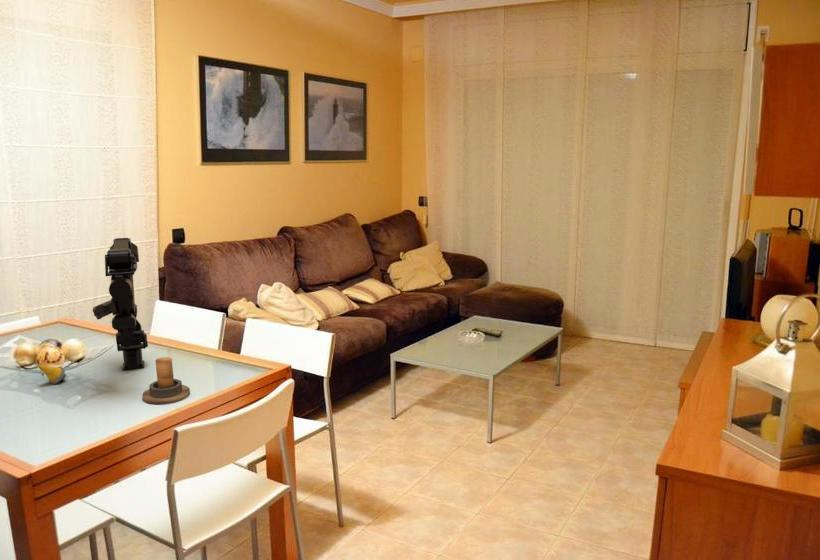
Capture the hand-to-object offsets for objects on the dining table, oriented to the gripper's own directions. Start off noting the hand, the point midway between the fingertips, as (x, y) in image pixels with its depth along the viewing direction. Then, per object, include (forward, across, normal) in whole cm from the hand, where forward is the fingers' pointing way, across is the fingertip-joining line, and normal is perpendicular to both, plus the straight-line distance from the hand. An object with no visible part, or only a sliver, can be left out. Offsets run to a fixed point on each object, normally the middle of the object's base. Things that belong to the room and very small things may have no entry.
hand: (127, 342), depth 204 cm
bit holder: (+13, +14, +10) cm, 22 cm away
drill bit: (+13, -8, -22) cm, 27 cm away
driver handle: (+12, +14, +10) cm, 21 cm away
